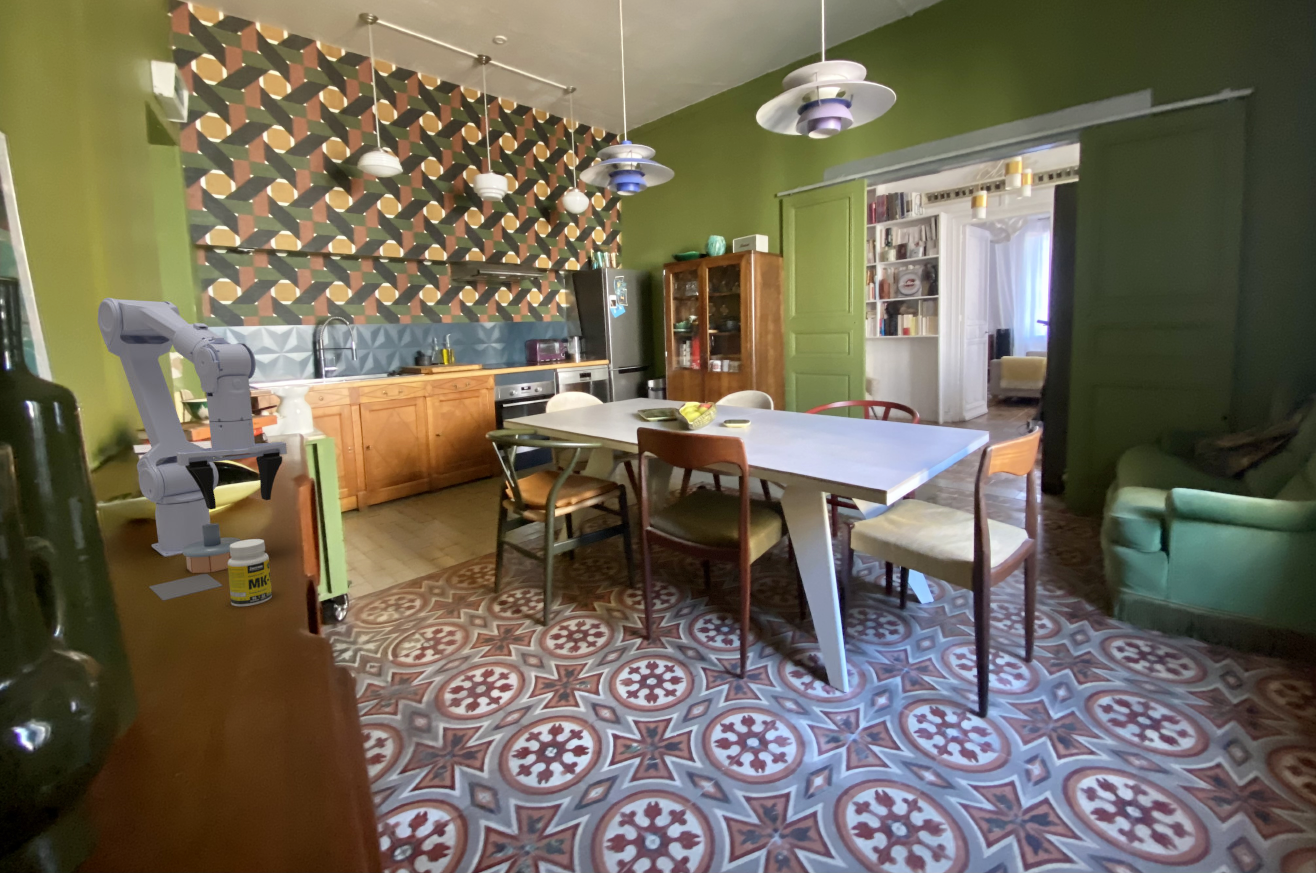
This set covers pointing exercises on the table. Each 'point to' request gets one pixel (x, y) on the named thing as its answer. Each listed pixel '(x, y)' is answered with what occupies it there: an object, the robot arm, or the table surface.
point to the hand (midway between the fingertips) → (239, 503)
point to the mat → (185, 586)
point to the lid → (209, 543)
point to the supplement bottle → (249, 573)
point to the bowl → (208, 563)
